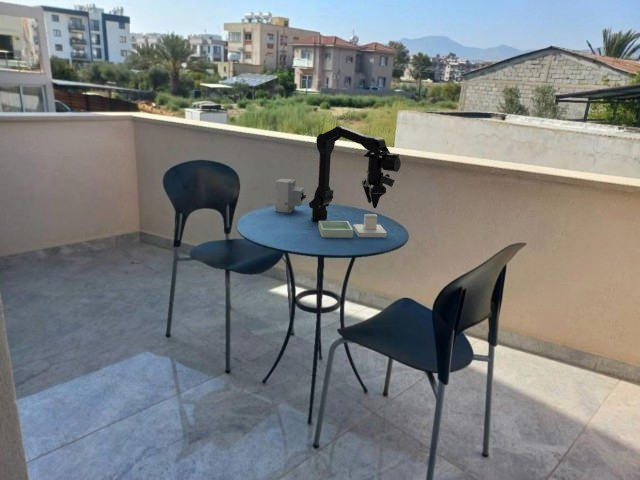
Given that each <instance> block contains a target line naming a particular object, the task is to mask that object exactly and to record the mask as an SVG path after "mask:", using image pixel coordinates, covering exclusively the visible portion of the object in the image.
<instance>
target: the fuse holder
mask: <svg viewBox="0 0 640 480" xmlns="http://www.w3.org/2000/svg"><path fill="white" fill-rule="evenodd" d="M363 226H364V223H363V224H362V223H361V224H360V223H359V224H358V223H354V224H353V227H352V228H353V230H354V231H353V232H355V234H356V235H357V237H358V238H387V237H388V233H387V231H386V230H385V229H384V227H382V225H381V224H378V223H377V227H376V230H364V228H363Z"/></svg>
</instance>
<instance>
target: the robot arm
mask: <svg viewBox="0 0 640 480" xmlns="http://www.w3.org/2000/svg"><path fill="white" fill-rule="evenodd" d="M341 138H343V139H347V140H348V141H351V142H352V143H353V142H354V143H356V144H358V145H360V146H362V147H363V148H364V149H366V150H367V152H366V153H364V155H363V157H364V158H368V159H367V160H368V163H367V165H368V166H367V169H366V174H367V177H364V178H362V180H361V186H362V189H363V191H364V194H365V197H366V200H367V203H368V204H372V207H373V209H377V206H378V204H379V201H380V198H381V197H382V196H383V195H385V194H387V188H386V186H389V188H393V185H394V184H395V181H396V180H395V179H394V178H392V177H391V175H390V174H389V173H386V172H385V173H384V172H383V171H388V172H396V173H397V172H399V171H400V169H401V165H402V162H401V158H400V155H399V154H398V153H395V154H393V153H391V151H389V148H388V147H387V142H386V140H385V138H383V137H380V136H374V135H366V134H363V133H362V132H359V131H356V130H353V129H351V128H348V127H346V126H345V125H336V126H335V127H334V128H331V129H330V130H328V131H326V132H323V133H319V134H318V135H317V136H316V141H315V142H316V148H317V150H318V153H319V166H318V182H317V183H318V184H317V187H316V190H315V191H314V196H313V199H312V200H311V201H309V202H308V207H309V209H311V217H310V219H311V222H318V223H319V221H327V219H328V210H327V207H329V205H330V204H331V202H333V199H334V189H331V187H330V179H331V178H330V177H331V176H330V174H331V157H332V152H333V150H334V149H335V144H336V142H337V141H339V140H341ZM385 185H386V186H385Z"/></svg>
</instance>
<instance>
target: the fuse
mask: <svg viewBox="0 0 640 480" xmlns="http://www.w3.org/2000/svg"><path fill="white" fill-rule="evenodd" d="M363 216H364V217H363V224H364V226H363V228H364V230H376V227H377V224H378V215H377V214H375V213H364V214H363Z"/></svg>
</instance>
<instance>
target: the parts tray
mask: <svg viewBox="0 0 640 480" xmlns="http://www.w3.org/2000/svg"><path fill="white" fill-rule="evenodd" d="M318 231H319V233H320V236H321V238H339V239H340V238H346V239H348V238H349V239H351V238H352V239H353V238H354V232H355V231H354V229H353V227H352V225H351V224H350V222H349V220H326V221H319V222H318Z"/></svg>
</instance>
